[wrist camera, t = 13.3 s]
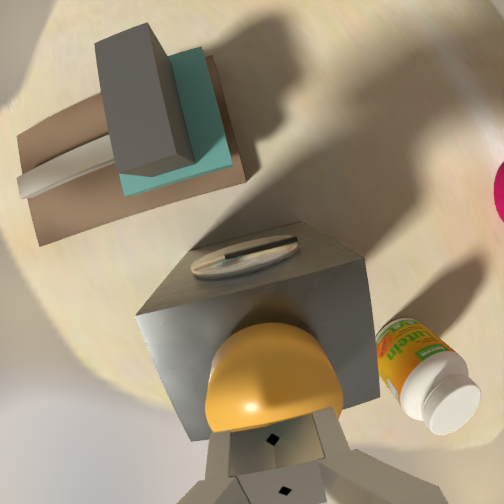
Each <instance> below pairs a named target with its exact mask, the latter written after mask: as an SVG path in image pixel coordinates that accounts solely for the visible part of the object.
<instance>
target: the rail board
mask: <svg viewBox="0 0 504 504" xmlns="http://www.w3.org/2000/svg"><path fill="white" fill-rule="evenodd" d="M205 60H206V64H207V68H208V72H209V75H210V79H211V83H212V86H213V90H214V93H215V97H216V102H217V106H218V109H219V113H220V117H221V121H222V125H223V128H224V131H225V135H226V139H227V143H228V147H229V151H230V155H231V159H232V163H233V167H231V168H227V169H223V170H219V171H216V172H212V173H209V174H205V175H201V176H198V177H194V178H191V179H187V180H184V181H181V182H177V183H174V184H171V185H167V186H164V187H161V188H158V189H155V190H151V191H148V192H145V193H142V194H139V195H135V196H124V192H123V188H122V184H121V180H120V176H119V174H118V173H117V168H116V164H115V160H114V155H113V151H112V146H111V141H110V136H109V132H108V127H107V121H106V116H105V111H104V105H103V99H102V94H101V93H100V94H98V95H95V96H93V97H91V98H89V99H86V100H84V101H82V102H80V103H78V104H76V105H74V106H72V107H69V108H67V109H65V110H63V111H61V112H59V113H57V114H55V115H54V116H52V117H50V118H48V119H46V120H44V121H42V122H40V123H39V124H37V125H35V126H33V127H31V128H30V129H28V130H26V131H24V132H23V133H21V134H19V135H18V136H17V141H18V148H19V155H20V162H21V168H22V174H23V175H21V176H19V177H17V182H18V188H19V193H20V197H21V199H25V198H27V199H28V204H29V208H30V212H31V216H32V221H33V224H34V228H35V232H36V236H37V240H38V243H39V247H41V246H44V245H47V244H50V243H53V242H55V241H58V240H61V239H63V238H66V237H69V236H72V235H75V234H77V233H80V232H83V231H86V230H89V229H92V228H95V227H98V226H101V225H104V224H107V223H110V222H113V221H116V220H119V219H122V218H125V217H128V216H131V215H134V214H137V213H141V212H144V211H147V210H150V209H154V208H157V207H160V206H163V205H167V204H170V203H173V202H177V201H180V200H184V199H187V198H191V197H194V196H198V195H201V194H205V193H209V192H212V191H216V190H219V189H223V188H227V187H231V186H235V185H238V184H242V183H246V179H245V175H244V171H243V167H242V163H241V160H240V156H239V152H238V148H237V144H236V141H235V137H234V133H233V129H232V126H231V122H230V118H229V114H228V111H227V107H226V103H225V99H224V96H223V92H222V88H221V85H220V81H219V77H218V73H217V70H216V66H215V62H214V59H213V55H212V56H208V57H205Z"/></svg>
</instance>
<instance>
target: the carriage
mask: <svg viewBox="0 0 504 504" xmlns="http://www.w3.org/2000/svg"><path fill="white" fill-rule="evenodd" d="M94 44H95V53H96V60H97V68H98V74H99V81H100V87H101V94H102V99H103V105H104V111H105V116H106V121H107V127H108V132H109V136H110V141H111V146H112V151H113V155H114V160H115V164H116V168H117V173H118V174H119V176H120V180H121V184H122V188H123V192H124V196H135V195H139V194H142V193H145V192H148V191H151V190H155V189H158V188H161V187H164V186H167V185H171V184H174V183H177V182H181V181H184V180H187V179H191V178H194V177H198V176H201V175H205V174H209V173H212V172H216V171H219V170H223V169H227V168H231V167H233V163H232V159H231V155H230V151H229V147H228V143H227V139H226V135H225V131H224V128H223V125H222V121H221V117H220V113H219V109H218V106H217V102H216V97H215V93H214V90H213V86H212V83H211V79H210V75H209V72H208V68H207V64H206V60H205V57H204V53H203V50H202V47H198V48H194V49H191V50H187V51H184V52H181V53H177V54H174V55H171V56H167V55H166V53H165V51H164V50H163V48H162V46H161V45H160V43H159V41H158V39H157V38H156V36H155V34H154V33H153V31H152V29H151V28H150V26H149V24H148V23H144V24H141V25H139V26H136V27H133V28H130V29H128V30H125V31H123V32H120V33H118V34H115V35H113V36H110V37H108V38H106V39H103V40H101V41H99V42H97V43H94Z"/></svg>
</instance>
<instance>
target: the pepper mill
mask: <svg viewBox="0 0 504 504" xmlns="http://www.w3.org/2000/svg"><path fill="white" fill-rule="evenodd" d="M494 199H495V205H496V209H497V212H498V214H499V216H500V218H501V219H502V221H503V222H504V164H503V165H502V166H501V167H500V169H499V170H498V173H497V175H496V179H495V183H494Z"/></svg>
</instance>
